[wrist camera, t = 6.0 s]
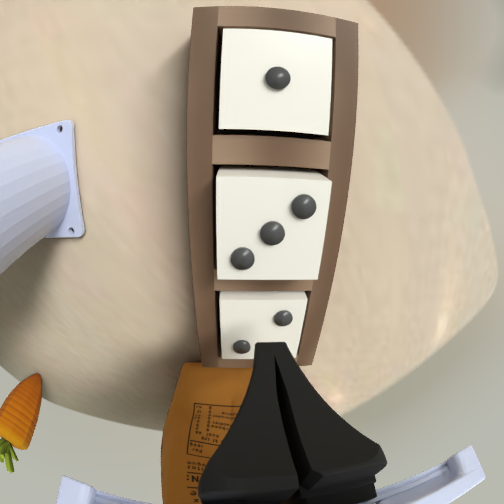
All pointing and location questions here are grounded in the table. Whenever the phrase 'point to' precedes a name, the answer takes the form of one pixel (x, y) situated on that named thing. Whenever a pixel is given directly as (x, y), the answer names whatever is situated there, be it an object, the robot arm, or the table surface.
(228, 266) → the tile three
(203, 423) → the coffee package
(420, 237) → the table surface
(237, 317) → the tile two
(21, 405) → the carrot
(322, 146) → the tile board
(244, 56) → the tile one
